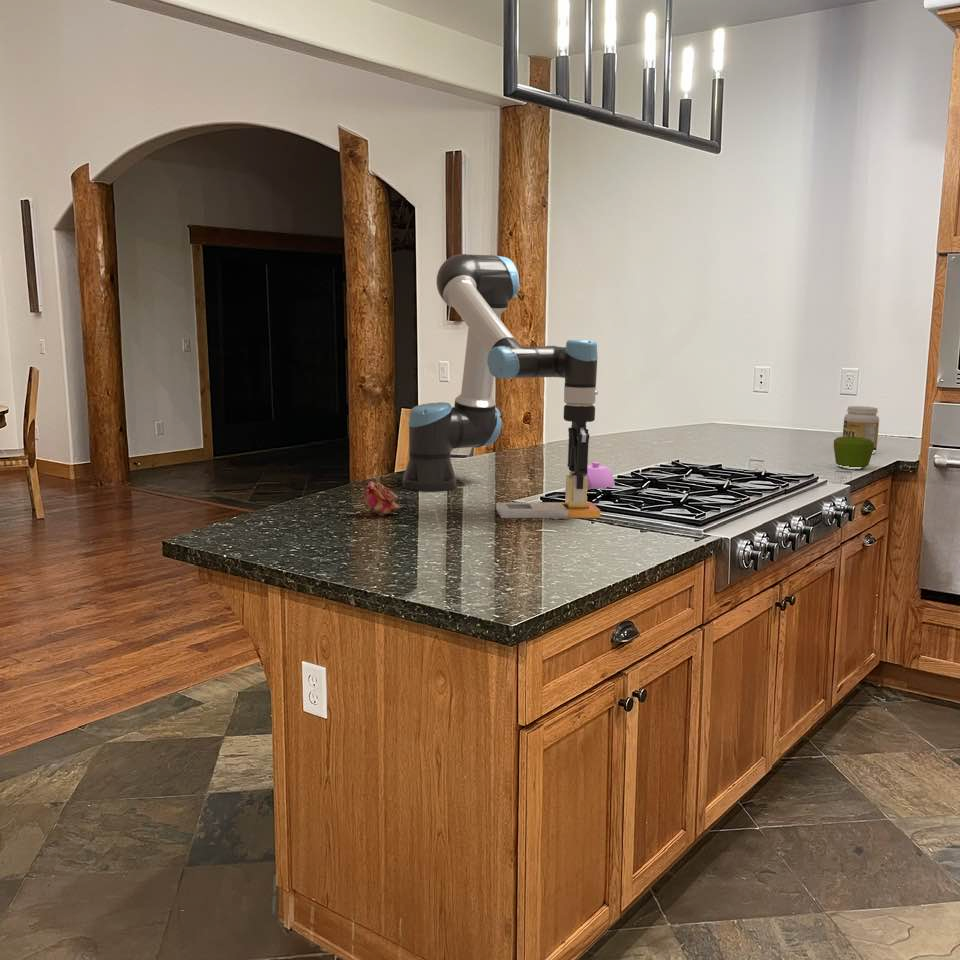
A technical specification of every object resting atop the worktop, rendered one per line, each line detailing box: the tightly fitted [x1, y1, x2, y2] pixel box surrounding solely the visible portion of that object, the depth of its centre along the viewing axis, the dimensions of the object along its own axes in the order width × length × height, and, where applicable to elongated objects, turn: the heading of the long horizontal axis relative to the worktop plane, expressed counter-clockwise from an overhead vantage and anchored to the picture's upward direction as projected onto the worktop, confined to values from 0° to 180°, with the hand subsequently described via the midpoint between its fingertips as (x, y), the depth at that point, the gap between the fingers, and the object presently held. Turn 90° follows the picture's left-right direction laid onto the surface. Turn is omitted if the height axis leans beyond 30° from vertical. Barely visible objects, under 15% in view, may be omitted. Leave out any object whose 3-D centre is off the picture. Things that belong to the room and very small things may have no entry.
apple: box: [833, 435, 874, 468], centre depth 323 cm, size 12×12×11 cm
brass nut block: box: [564, 474, 588, 509], centre depth 238 cm, size 4×4×8 cm
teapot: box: [585, 461, 616, 489], centre depth 264 cm, size 10×15×9 cm
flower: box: [363, 480, 402, 517], centre depth 236 cm, size 10×9×8 cm
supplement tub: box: [842, 405, 880, 451], centre depth 361 cm, size 12×12×17 cm
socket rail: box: [495, 501, 601, 519], centre depth 238 cm, size 24×10×2 cm, turn 96°
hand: (576, 499), depth 238 cm, fingers open, 5 cm apart
